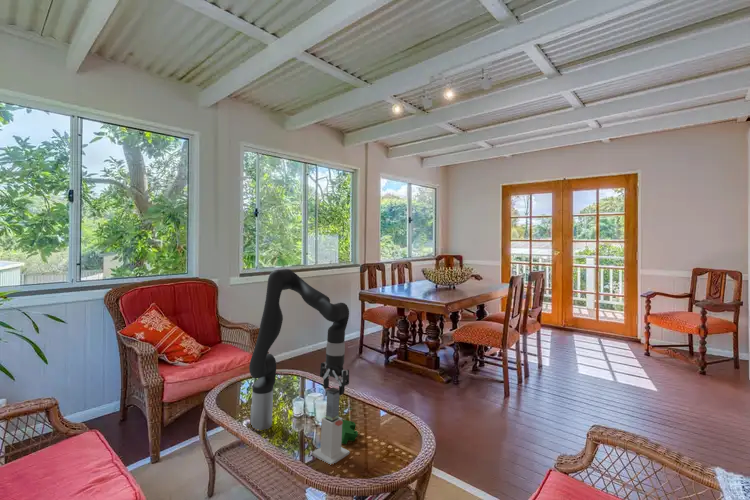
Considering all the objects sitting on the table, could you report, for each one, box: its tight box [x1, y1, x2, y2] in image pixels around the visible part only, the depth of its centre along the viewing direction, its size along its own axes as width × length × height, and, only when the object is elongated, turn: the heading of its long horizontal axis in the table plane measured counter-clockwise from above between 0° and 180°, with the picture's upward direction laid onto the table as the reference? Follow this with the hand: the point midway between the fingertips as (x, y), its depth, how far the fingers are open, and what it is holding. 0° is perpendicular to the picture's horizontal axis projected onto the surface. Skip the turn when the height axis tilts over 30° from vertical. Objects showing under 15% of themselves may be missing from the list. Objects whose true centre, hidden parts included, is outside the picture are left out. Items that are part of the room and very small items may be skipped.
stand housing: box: [311, 416, 351, 466], centre depth 151 cm, size 11×11×15 cm
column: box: [325, 387, 340, 422], centre depth 151 cm, size 4×4×20 cm
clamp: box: [341, 419, 359, 445], centre depth 164 cm, size 12×6×9 cm, turn 5°
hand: (333, 391), depth 150 cm, fingers open, 8 cm apart
